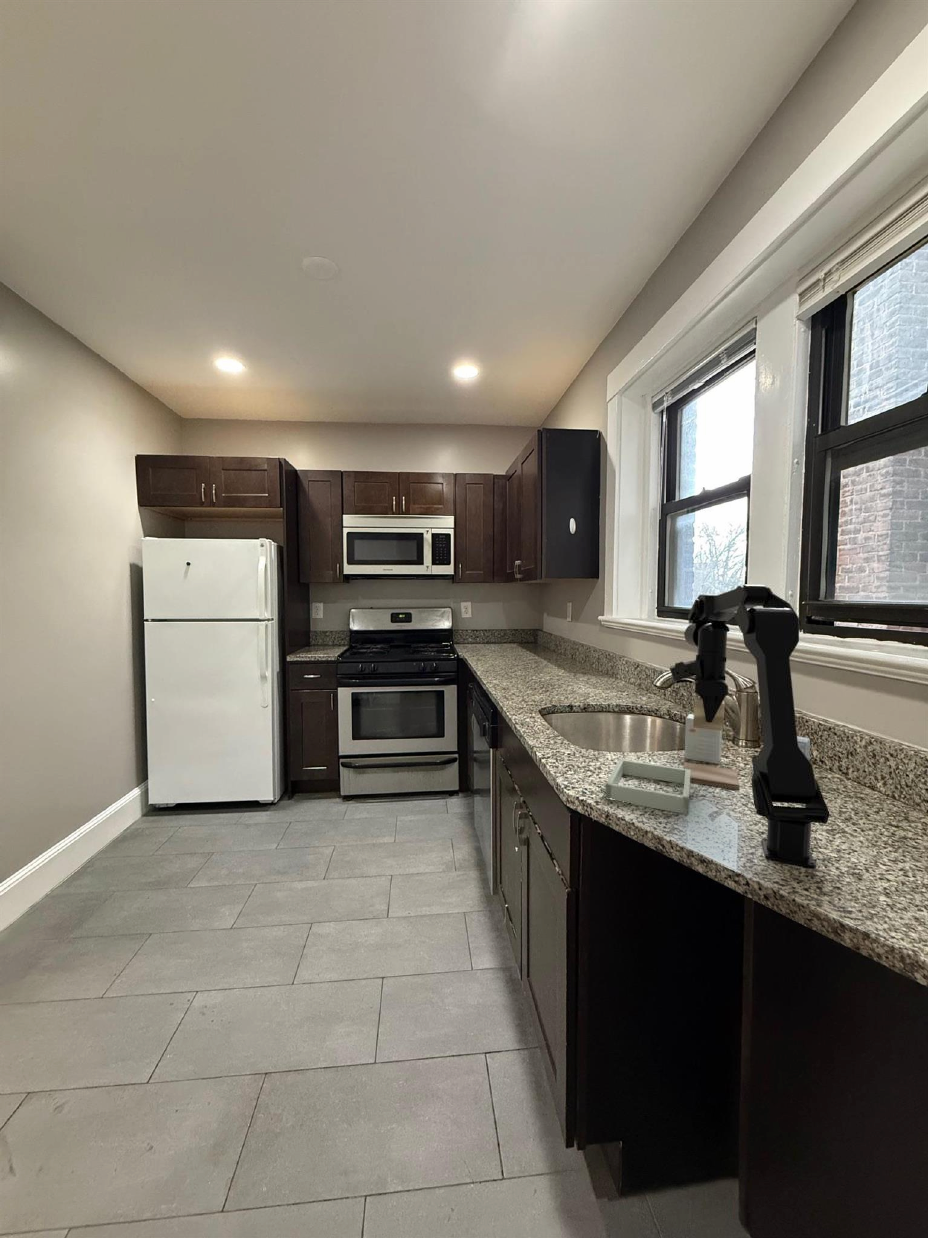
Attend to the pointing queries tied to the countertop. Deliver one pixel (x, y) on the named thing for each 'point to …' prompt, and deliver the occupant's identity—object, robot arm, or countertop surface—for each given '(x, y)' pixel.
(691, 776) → the walnut board
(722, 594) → the robot arm
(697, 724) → the pine block
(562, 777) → the countertop surface
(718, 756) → the small box
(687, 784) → the sage bin
